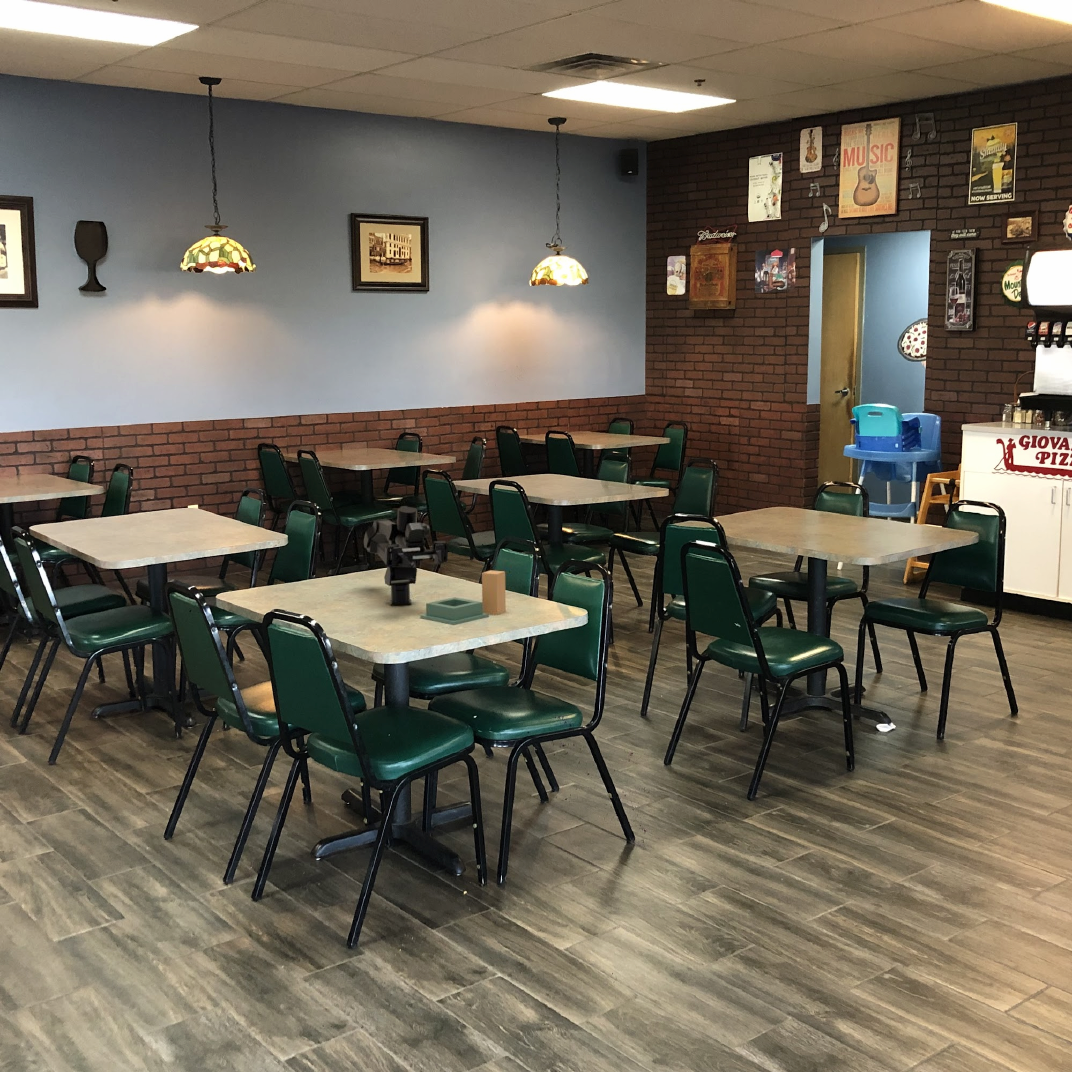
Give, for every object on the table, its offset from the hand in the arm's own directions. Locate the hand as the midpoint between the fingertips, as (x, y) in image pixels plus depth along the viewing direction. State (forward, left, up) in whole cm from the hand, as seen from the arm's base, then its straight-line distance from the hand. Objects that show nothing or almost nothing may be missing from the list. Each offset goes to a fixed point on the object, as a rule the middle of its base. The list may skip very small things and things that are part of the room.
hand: (425, 564), depth 347 cm
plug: (-5, +20, -16) cm, 26 cm away
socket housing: (0, +8, -16) cm, 18 cm away
